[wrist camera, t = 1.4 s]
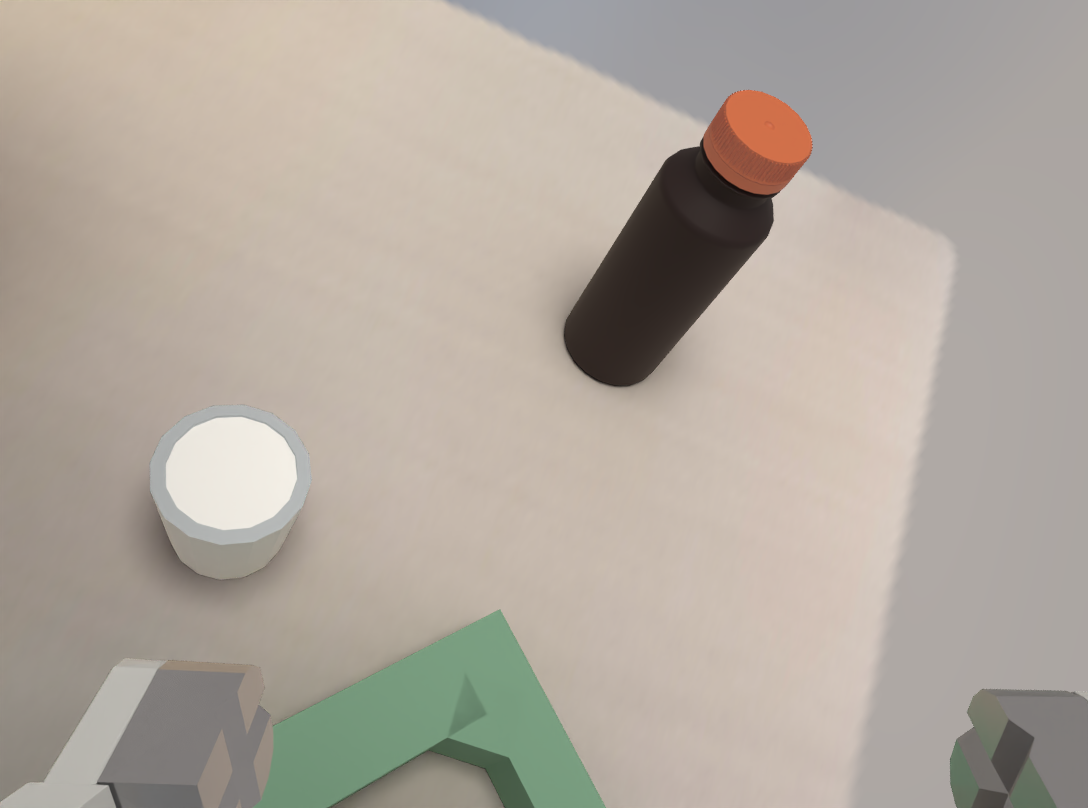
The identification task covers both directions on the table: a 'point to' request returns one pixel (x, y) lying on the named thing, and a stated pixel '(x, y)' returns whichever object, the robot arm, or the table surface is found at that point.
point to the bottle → (687, 238)
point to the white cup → (229, 488)
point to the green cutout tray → (434, 727)
